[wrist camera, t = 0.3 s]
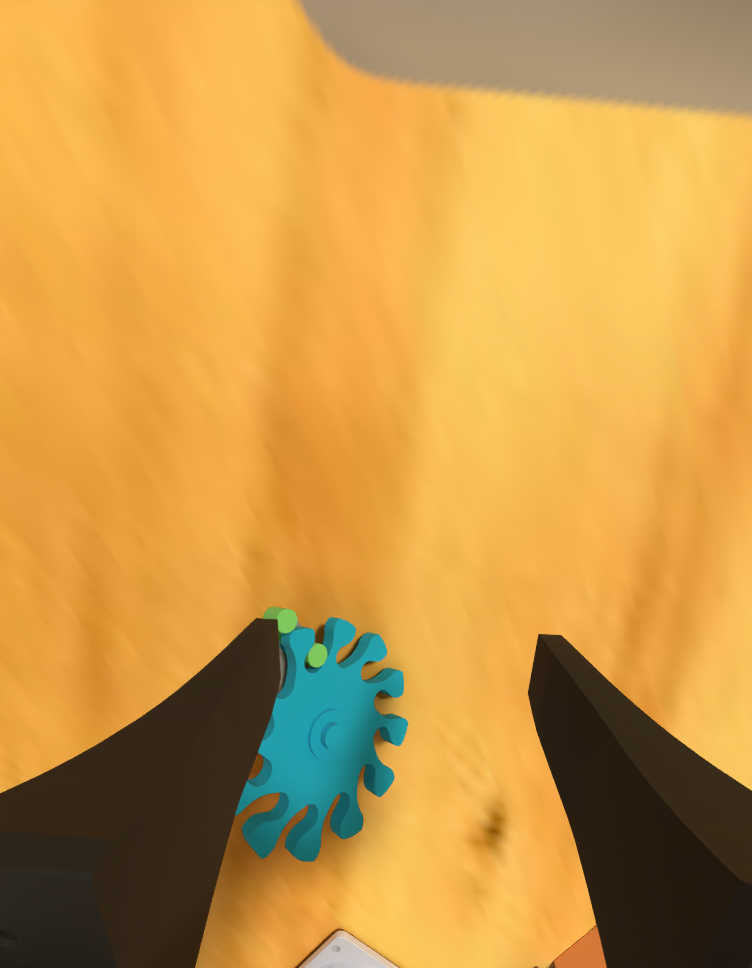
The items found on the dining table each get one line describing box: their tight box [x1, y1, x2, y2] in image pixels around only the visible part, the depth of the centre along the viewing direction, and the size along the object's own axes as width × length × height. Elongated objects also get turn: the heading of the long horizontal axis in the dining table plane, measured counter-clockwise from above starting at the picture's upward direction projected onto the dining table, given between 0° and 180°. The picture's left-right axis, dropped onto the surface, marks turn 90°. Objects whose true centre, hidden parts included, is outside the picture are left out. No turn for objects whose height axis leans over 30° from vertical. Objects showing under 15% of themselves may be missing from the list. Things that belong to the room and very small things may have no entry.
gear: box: [235, 607, 408, 862], centre depth 22 cm, size 11×6×10 cm
